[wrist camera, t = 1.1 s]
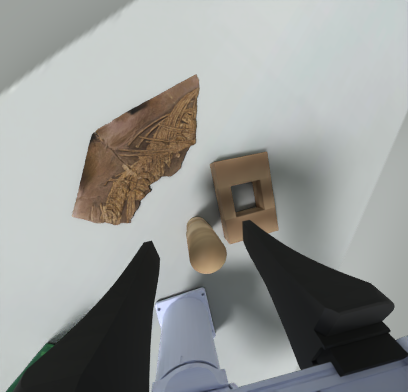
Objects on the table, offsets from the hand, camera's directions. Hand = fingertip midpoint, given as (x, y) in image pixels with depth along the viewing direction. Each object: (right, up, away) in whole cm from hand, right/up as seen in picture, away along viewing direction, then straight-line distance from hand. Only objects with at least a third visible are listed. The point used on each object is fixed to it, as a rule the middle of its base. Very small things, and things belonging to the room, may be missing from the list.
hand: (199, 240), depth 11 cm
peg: (-1, -1, +11) cm, 11 cm away
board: (+6, +3, +12) cm, 14 cm away
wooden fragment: (-8, +10, +9) cm, 16 cm away
